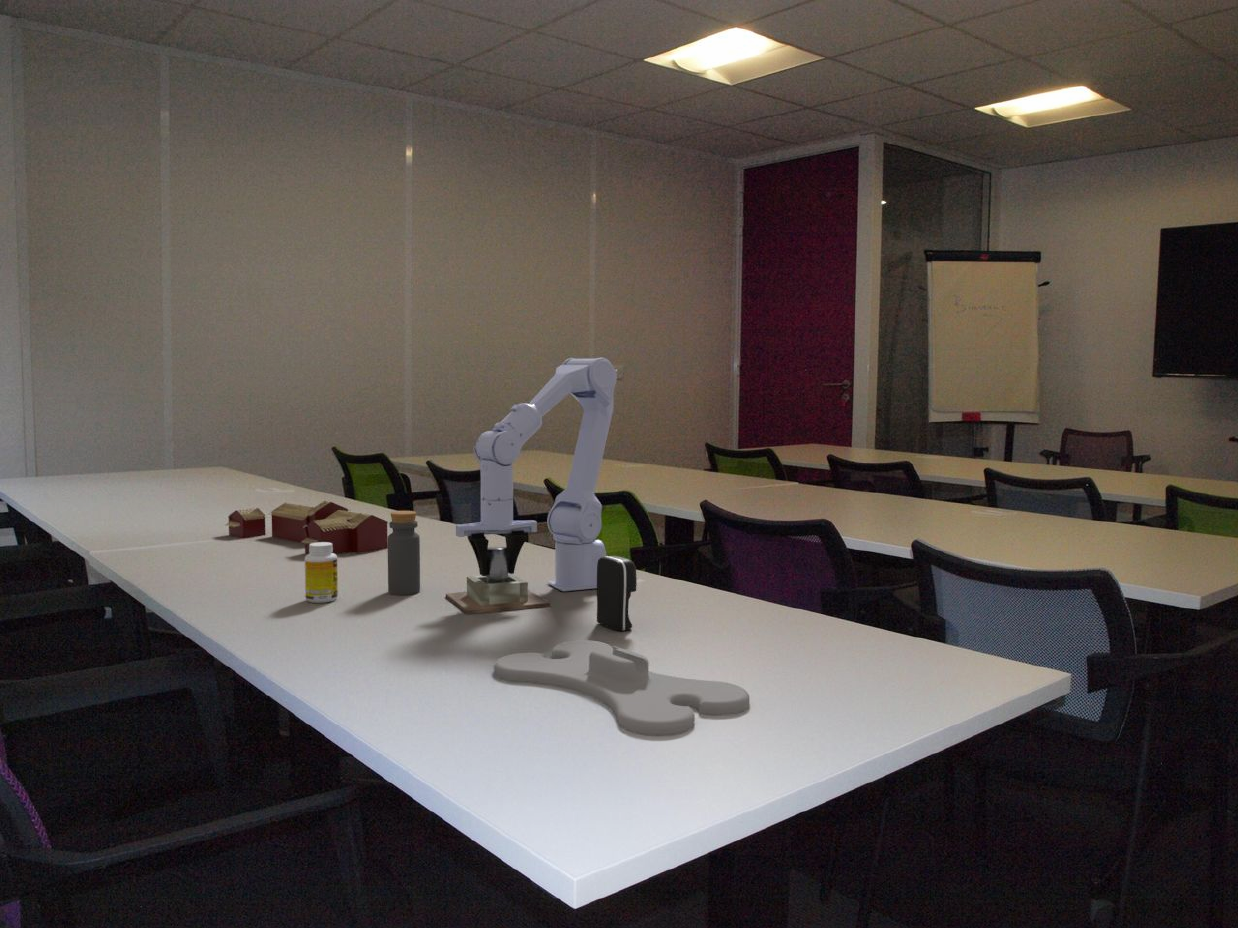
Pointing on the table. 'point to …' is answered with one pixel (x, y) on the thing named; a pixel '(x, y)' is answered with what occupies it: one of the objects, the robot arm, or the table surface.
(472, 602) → the socket
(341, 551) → the toy houses
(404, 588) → the bottle
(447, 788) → the table surface
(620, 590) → the battery charger
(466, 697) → the table surface
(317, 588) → the supplement bottle
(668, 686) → the holder
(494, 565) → the peg
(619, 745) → the table surface
